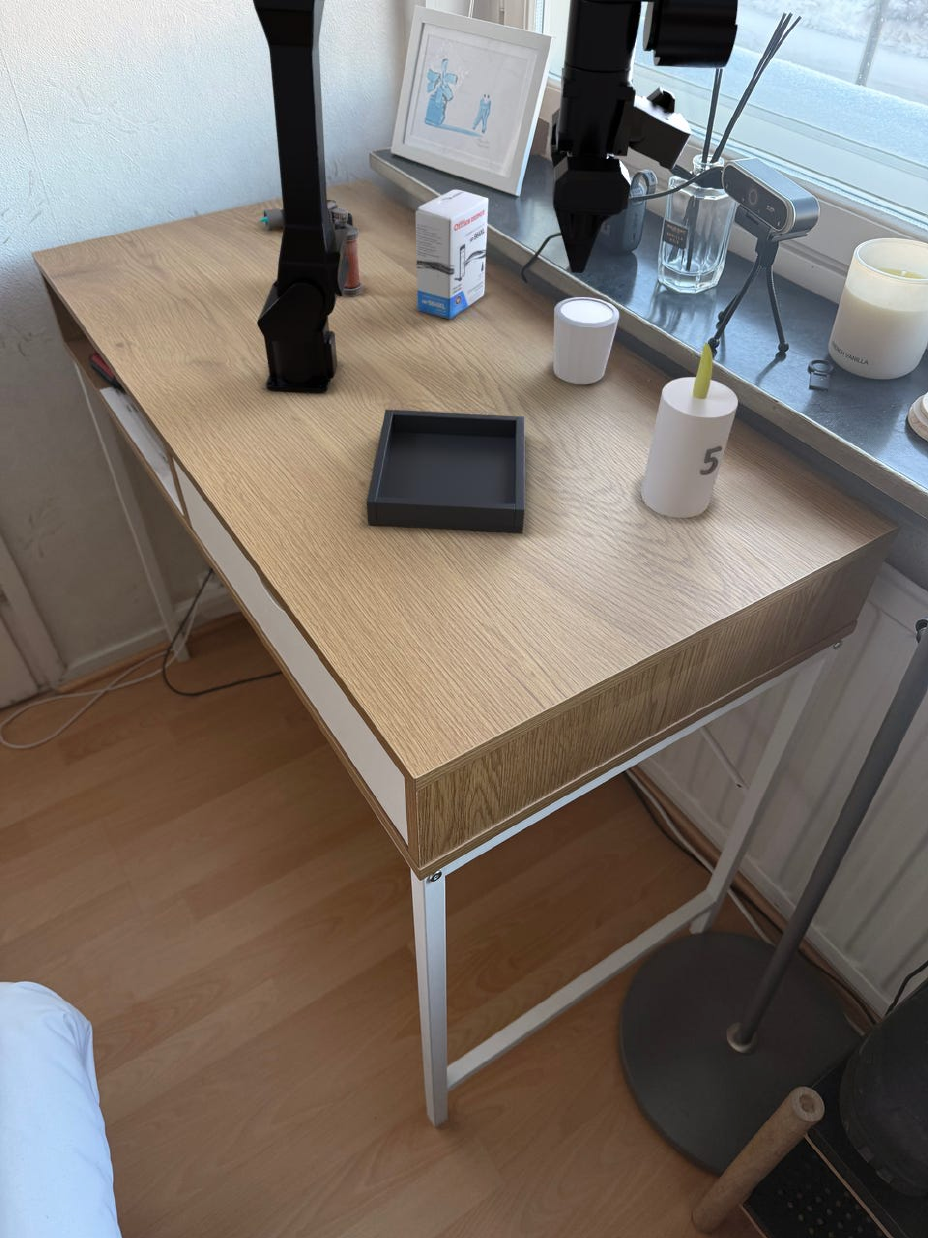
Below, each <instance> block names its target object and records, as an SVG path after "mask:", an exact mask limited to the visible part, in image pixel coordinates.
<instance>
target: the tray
mask: <svg viewBox="0 0 928 1238" xmlns="http://www.w3.org/2000/svg"><path fill="white" fill-rule="evenodd" d="M366 513H367V515H366V517H367V525H368V526H379V527H400V528H401V527H402V528H419V529H420V528H421V529H439V530H460V531H475V532H476V531H480V532H495V533H498V532H499V533H516V534H517V533H518V534H522V533H523V530H524V520H525V519H524V518H525V416H521V415H502V414H482V413H463V412H462V413H461V412H460V413H459V412H444V411H443V412H442V411H424V410H423V411H421V410H420V411H419V410H402V409H400V410H399V409H385V410H384V415H383V420H382V425H381V430H380V434H379V439H378V444H377V449H376V453H375V458H374V464H373V468H372V473H371V478H370V483H369V488H368V493H367V498H366Z"/></svg>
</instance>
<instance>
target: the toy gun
mask: <svg viewBox="0 0 928 1238" xmlns="http://www.w3.org/2000/svg"><path fill="white" fill-rule="evenodd" d="M331 201H333V202H335V203H336V204H337V202H336V201H335V200H333V199H327V203H329V202H331ZM347 213H348V220H347V224H349V225H351V226H353V215H352V214H351V213H349V212H348V211H347ZM262 214H263V217H262V218H261V219H259V220H258V222H262V223H264V225H265V228H266V230H276V229H281V228H284V211H283V208H281V209H280V208H279V207H277V208H270V209H263V213H262ZM353 227H354V226H353Z"/></svg>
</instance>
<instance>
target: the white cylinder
mask: <svg viewBox="0 0 928 1238" xmlns="http://www.w3.org/2000/svg"><path fill="white" fill-rule="evenodd" d="M553 312H554V313H553V367H552V368H553V374H555V376H556V377H557V378H558V379H560V380H562V381H563V382H566V383H569V384H573V385H590V384H594V383H597V382H598V381H600V380H602V379H603V377H604V376H605V373H606V369H607V365H608V362H609V357H610V354H611V350H612V347H613V342H614V338H615V335H616V331H617V327H618V323H619V319H620V312H619V309H618V308H617V307H615V306H614V304H612V303H609V302H608V301H606V300H603V299H600V298H595V297H588V296H587V297H586V296H584V297H583V296H576V297H570V298H569V297H568V298H566V299H564V300H561V301H559V302H557V304H556V305H555V306H554V310H553Z"/></svg>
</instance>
